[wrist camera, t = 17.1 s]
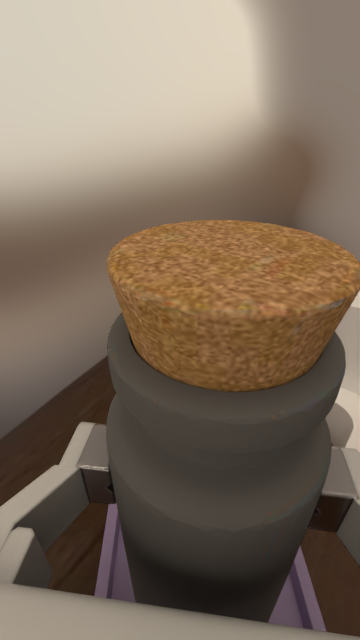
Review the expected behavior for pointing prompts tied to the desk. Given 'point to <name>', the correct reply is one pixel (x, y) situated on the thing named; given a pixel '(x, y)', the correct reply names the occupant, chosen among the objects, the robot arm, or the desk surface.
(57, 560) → the desk surface
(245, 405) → the bottle
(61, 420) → the desk surface
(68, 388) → the desk surface
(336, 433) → the white slotted bracket
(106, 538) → the tray
